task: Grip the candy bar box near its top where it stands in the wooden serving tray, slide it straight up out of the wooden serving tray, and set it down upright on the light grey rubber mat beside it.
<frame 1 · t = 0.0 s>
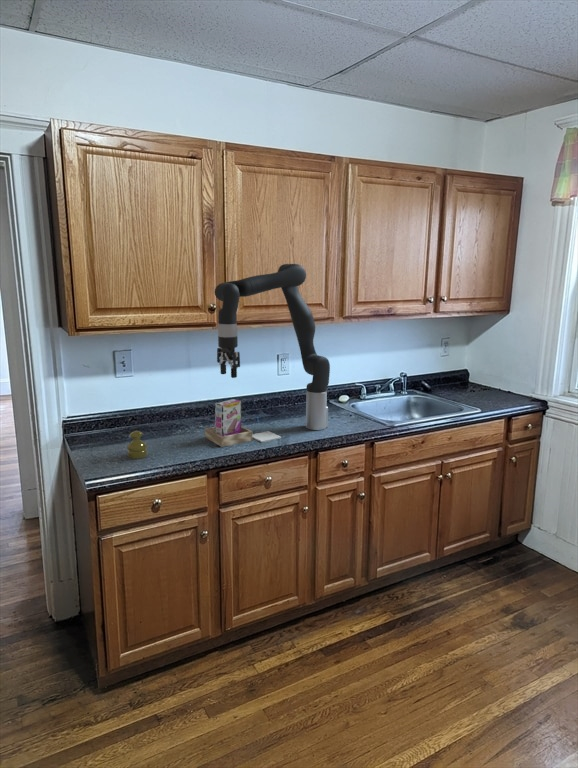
hand: (228, 375, 209), 29 cm above the countertop, fingers open, 8 cm apart
wooden serving tray: (228, 438, 224), on the countertop
candy bar box: (228, 439, 224), resting in wooden serving tray
mat: (265, 437, 227), on the countertop
brass calibration weight: (137, 456, 204), on the countertop
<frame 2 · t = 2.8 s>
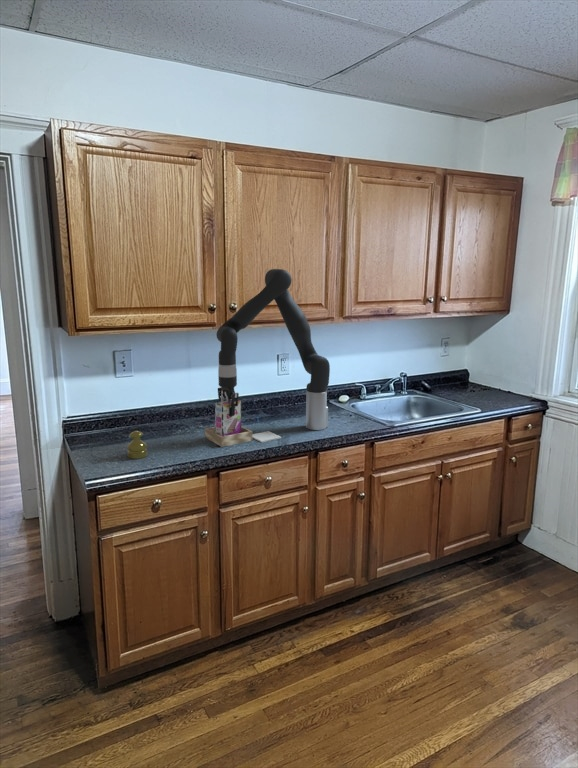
hand: (228, 413, 222), 11 cm above the countertop, fingers closed on candy bar box, 5 cm apart
candy bar box: (228, 439, 224), resting in wooden serving tray, touching gripper
everything else where it was.
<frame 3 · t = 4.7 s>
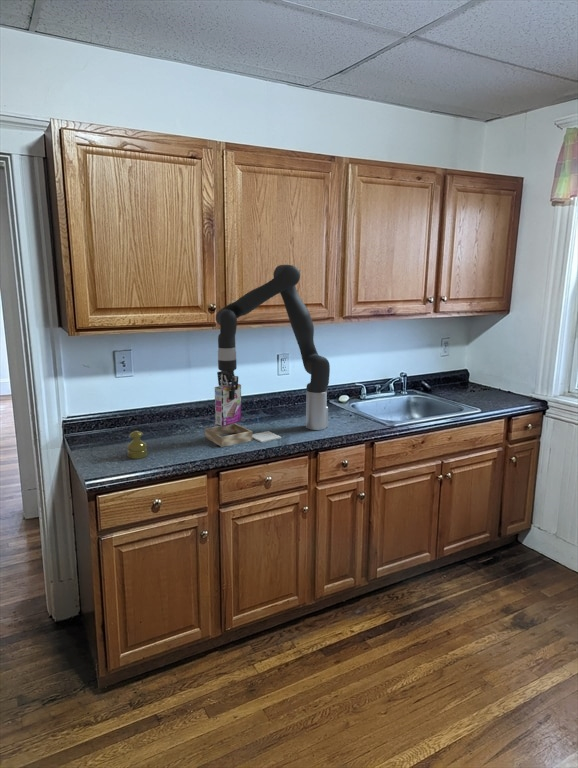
hand: (228, 397, 220), 18 cm above the countertop, fingers closed on candy bar box, 5 cm apart
candy bar box: (228, 423, 223), point 7 cm above the countertop, touching gripper
everything else where it was.
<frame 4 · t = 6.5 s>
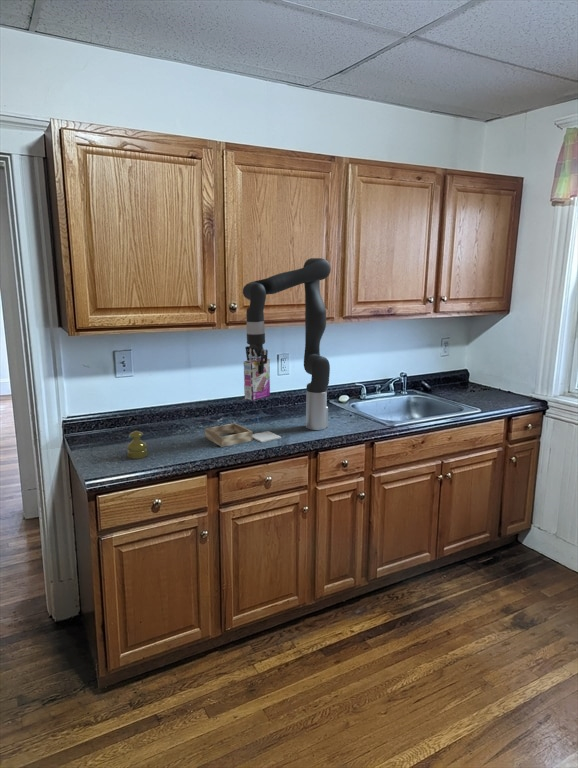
hand: (257, 372, 220), 29 cm above the countertop, fingers closed on candy bar box, 5 cm apart
candy bar box: (257, 398, 223), point 17 cm above the countertop, touching gripper
everything else where it was.
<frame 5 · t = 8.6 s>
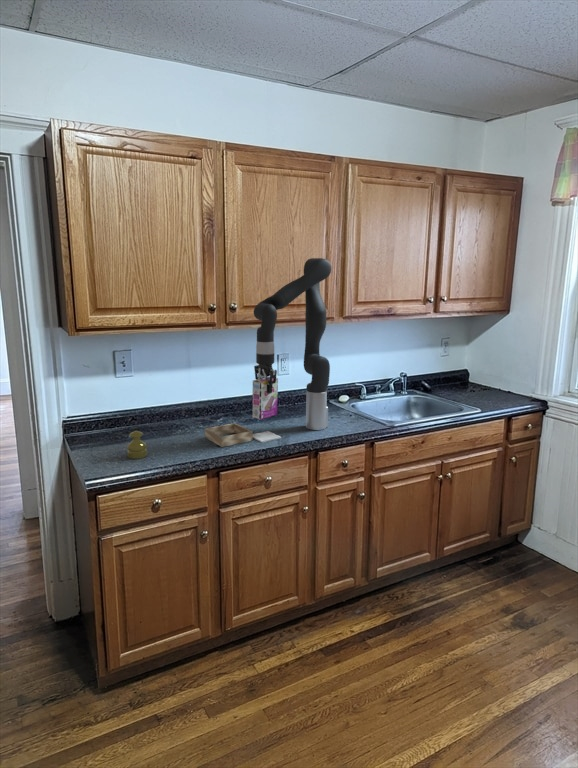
hand: (265, 391, 222), 20 cm above the countertop, fingers closed on candy bar box, 5 cm apart
candy bar box: (265, 417, 225), point 9 cm above the countertop, touching gripper
everything else where it was.
when the fingers open (13 cm above the countertop, at t = 10.5 s): candy bar box drops 1 cm, resting on mat.
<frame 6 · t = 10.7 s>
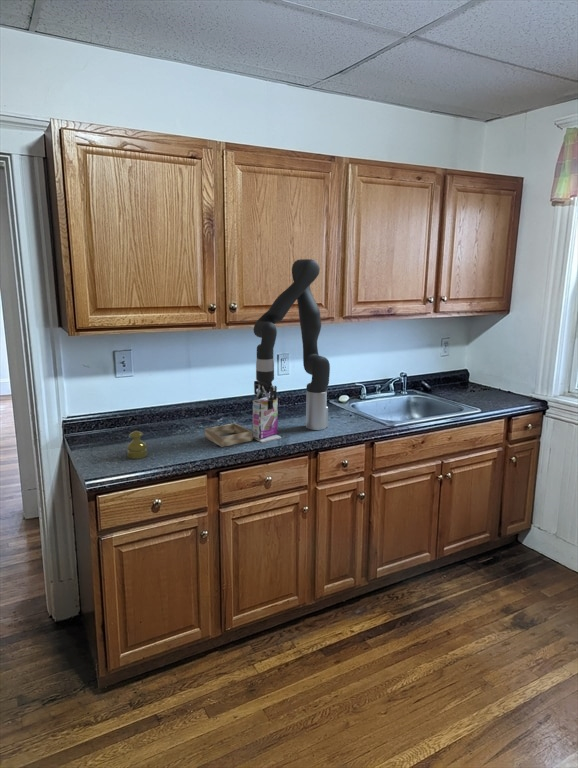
hand: (265, 407, 224), 13 cm above the countertop, fingers open, 7 cm apart
candy bar box: (265, 436, 227), point 1 cm above the countertop, touching mat
everything else where it was.
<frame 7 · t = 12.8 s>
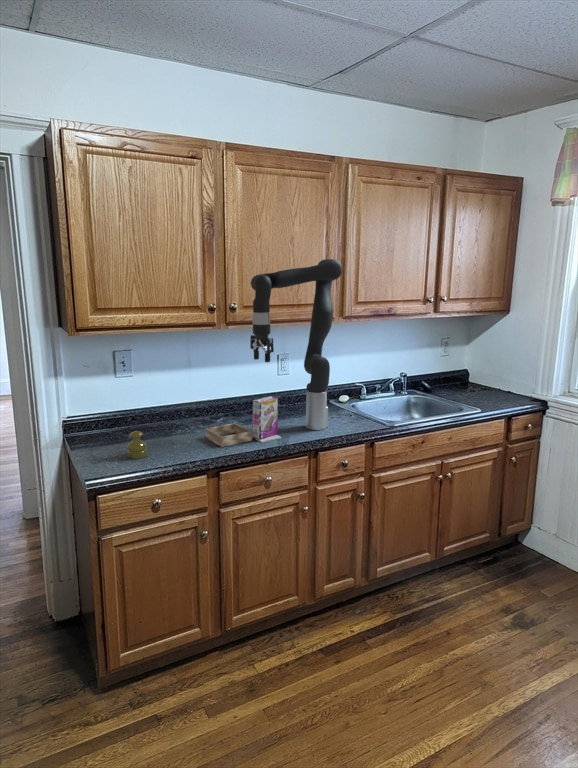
hand: (261, 360, 226), 32 cm above the countertop, fingers open, 8 cm apart
nothing on the countertop moved.
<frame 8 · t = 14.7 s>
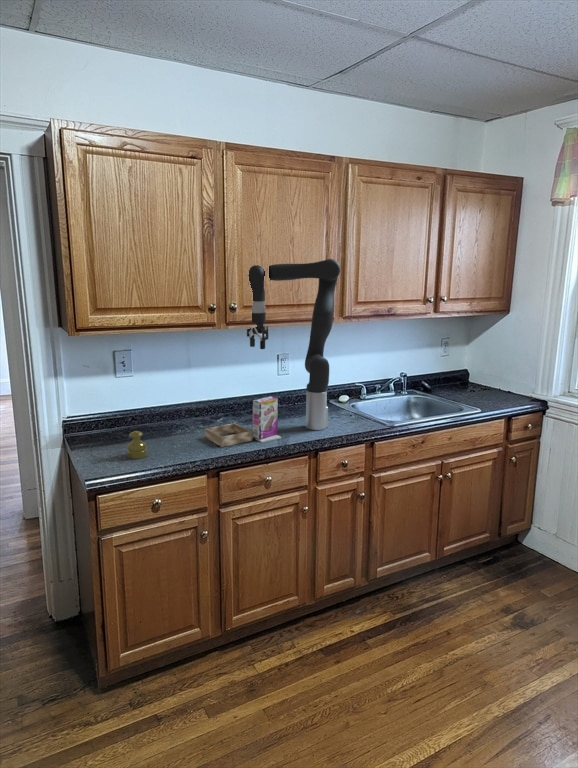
hand: (257, 347, 236), 36 cm above the countertop, fingers open, 8 cm apart
nothing on the countertop moved.
at the end: candy bar box inside the target area on the mat (0.1 cm from its centre), point 0.4 cm above the mat's base; candy bar box tilted 0°; the gripper is holding nothing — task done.
